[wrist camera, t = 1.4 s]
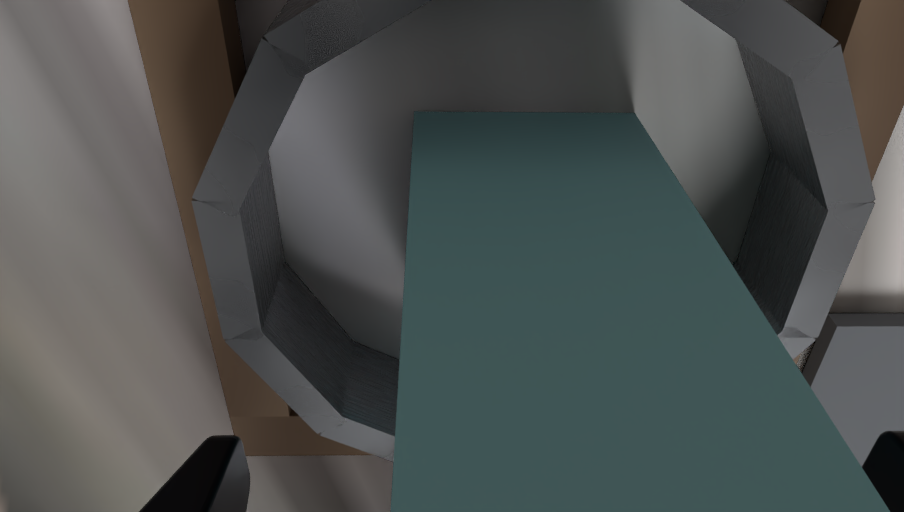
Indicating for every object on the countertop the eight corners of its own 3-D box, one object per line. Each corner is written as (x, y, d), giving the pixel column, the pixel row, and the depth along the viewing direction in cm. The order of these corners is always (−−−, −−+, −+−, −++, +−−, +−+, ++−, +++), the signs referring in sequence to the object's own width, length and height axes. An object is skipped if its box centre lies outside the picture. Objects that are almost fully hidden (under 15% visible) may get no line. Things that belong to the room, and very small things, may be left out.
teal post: (417, 288, 16) (400, 802, 8) (414, 111, 14) (385, 593, 5) (603, 289, 16) (779, 794, 8) (634, 113, 14) (937, 586, 6)
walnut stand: (247, 426, 19) (238, 455, 18) (113, -171, 11) (86, -169, 10) (746, 423, 19) (760, 451, 18) (966, -155, 11) (1009, -151, 10)
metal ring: (276, 403, 18) (256, 481, 16) (181, -106, 11) (125, -85, 9) (722, 401, 19) (758, 477, 16) (892, -96, 12) (991, -73, 10)
